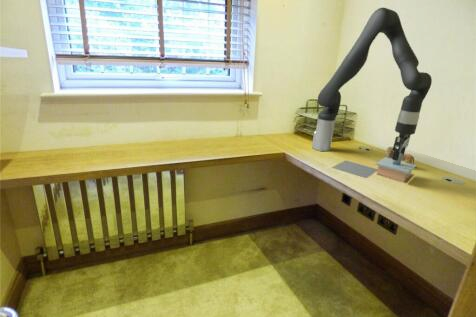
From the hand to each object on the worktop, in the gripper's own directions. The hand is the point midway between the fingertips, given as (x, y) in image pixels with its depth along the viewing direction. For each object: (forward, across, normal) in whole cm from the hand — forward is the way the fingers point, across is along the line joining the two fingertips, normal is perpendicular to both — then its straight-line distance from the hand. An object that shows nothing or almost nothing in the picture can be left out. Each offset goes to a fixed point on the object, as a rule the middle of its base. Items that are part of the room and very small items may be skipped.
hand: (397, 157), depth 125 cm
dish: (+9, 0, 0) cm, 9 cm away
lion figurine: (+9, -18, -2) cm, 20 cm away
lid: (+4, 0, 0) cm, 4 cm away
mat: (+9, +6, -15) cm, 18 cm away
